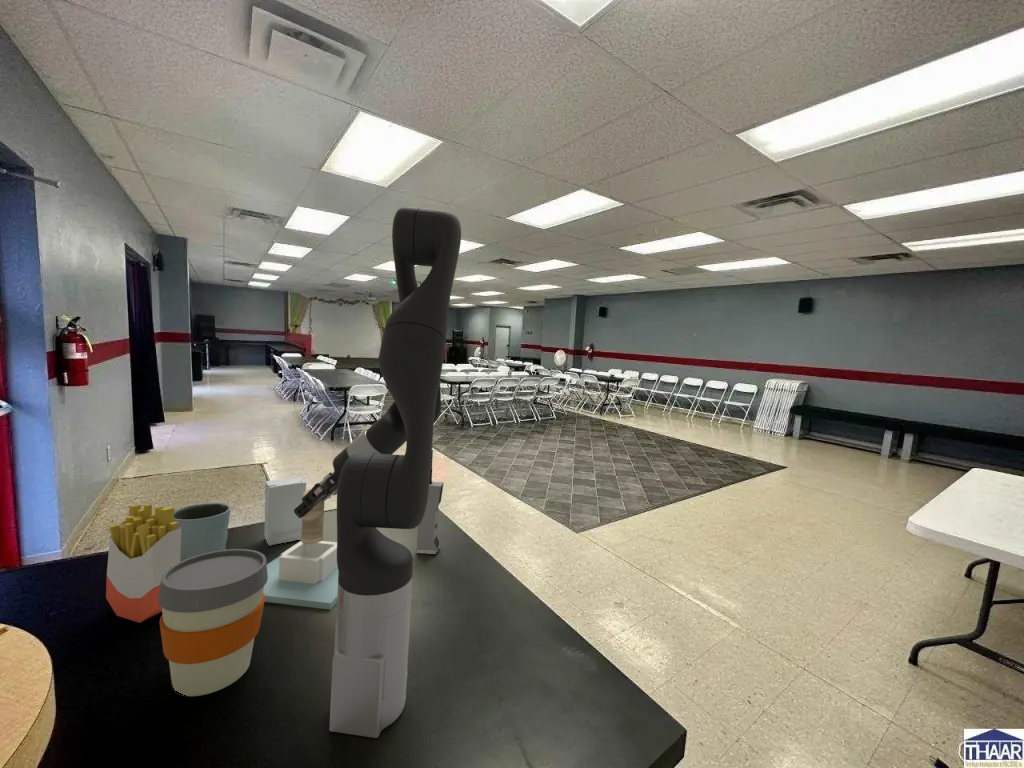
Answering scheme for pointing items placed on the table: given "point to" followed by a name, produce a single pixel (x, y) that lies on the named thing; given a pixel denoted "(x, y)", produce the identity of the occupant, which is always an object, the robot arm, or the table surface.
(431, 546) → the vintage mobile phone
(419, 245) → the robot arm
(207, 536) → the blue embossed cup
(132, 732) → the table surface
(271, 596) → the sleeve holder
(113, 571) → the french fries container
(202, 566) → the reusable coffee cup
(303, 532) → the maple peg
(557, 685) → the table surface
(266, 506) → the skincare box
